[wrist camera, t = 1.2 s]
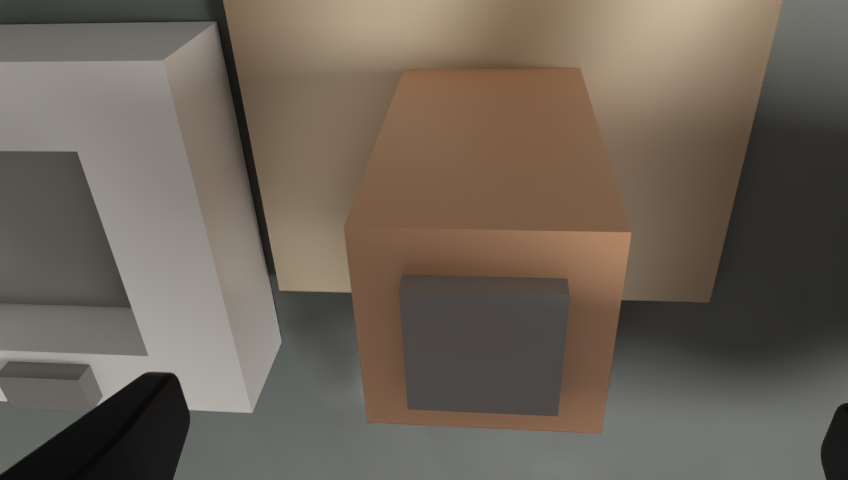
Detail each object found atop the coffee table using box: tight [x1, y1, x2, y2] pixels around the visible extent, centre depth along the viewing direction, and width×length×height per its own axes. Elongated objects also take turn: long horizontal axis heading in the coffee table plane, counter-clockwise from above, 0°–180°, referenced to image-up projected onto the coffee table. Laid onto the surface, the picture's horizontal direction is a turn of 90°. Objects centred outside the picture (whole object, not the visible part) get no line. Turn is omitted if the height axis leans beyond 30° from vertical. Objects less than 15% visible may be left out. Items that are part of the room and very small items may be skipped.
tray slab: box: [223, 0, 783, 303], centre depth 16 cm, size 12×9×1 cm
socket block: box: [0, 21, 282, 413], centre depth 17 cm, size 11×10×4 cm
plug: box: [344, 68, 632, 434], centre depth 13 cm, size 4×4×7 cm
